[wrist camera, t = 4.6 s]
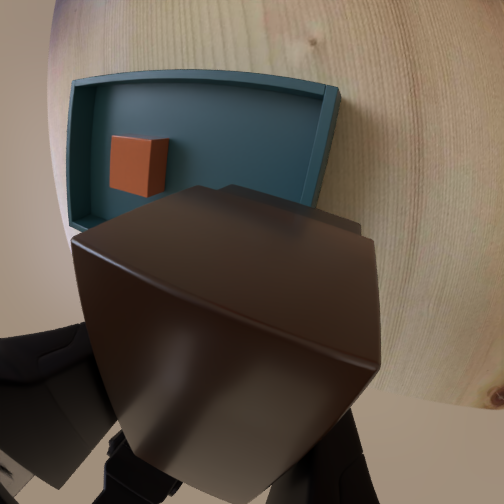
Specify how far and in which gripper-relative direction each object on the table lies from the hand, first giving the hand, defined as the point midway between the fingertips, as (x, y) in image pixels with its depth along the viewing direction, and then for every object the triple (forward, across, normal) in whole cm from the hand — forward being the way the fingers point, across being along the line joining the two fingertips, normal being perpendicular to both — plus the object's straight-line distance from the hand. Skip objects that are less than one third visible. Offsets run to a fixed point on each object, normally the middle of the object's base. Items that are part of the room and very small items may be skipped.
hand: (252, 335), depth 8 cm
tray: (+11, +10, -1) cm, 15 cm away
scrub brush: (+1, 0, 0) cm, 1 cm away
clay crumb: (+10, +13, -1) cm, 17 cm away
